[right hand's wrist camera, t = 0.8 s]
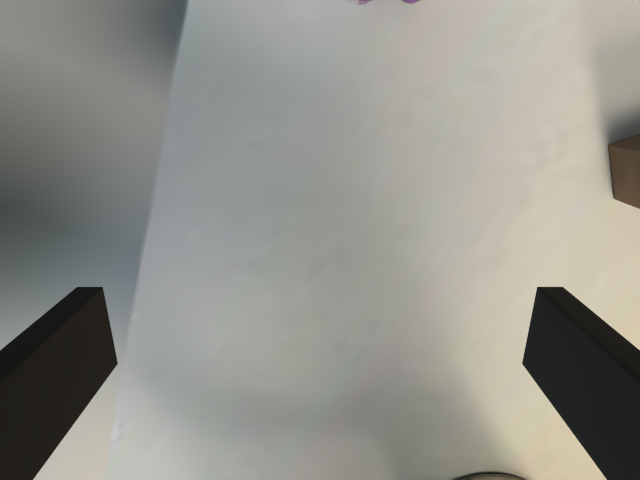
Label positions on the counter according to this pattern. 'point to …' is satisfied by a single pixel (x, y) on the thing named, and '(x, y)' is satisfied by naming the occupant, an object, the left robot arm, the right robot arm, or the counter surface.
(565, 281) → the counter surface
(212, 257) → the counter surface
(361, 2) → the figurine
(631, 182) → the plank
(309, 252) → the counter surface
